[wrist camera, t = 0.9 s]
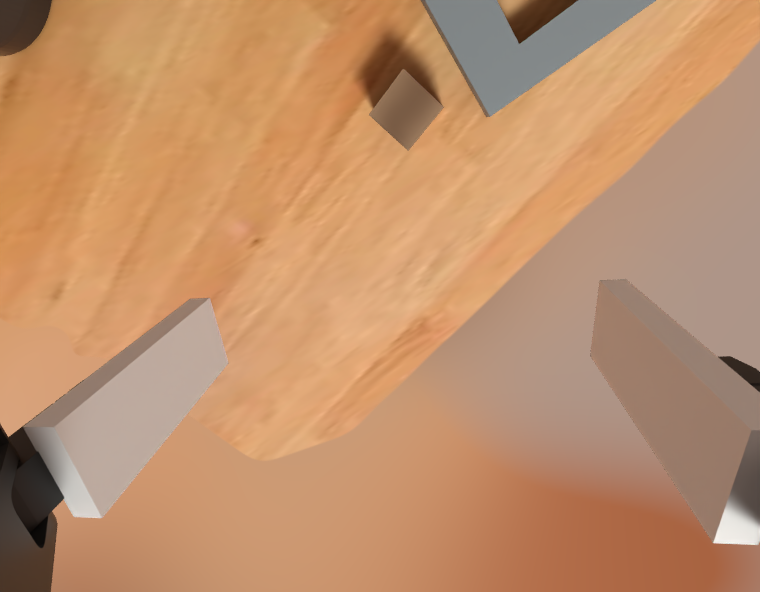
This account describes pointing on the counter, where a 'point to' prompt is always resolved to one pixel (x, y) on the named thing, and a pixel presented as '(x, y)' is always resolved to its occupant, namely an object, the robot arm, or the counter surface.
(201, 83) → the counter surface
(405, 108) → the walnut cube
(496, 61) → the board
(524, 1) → the counter surface
